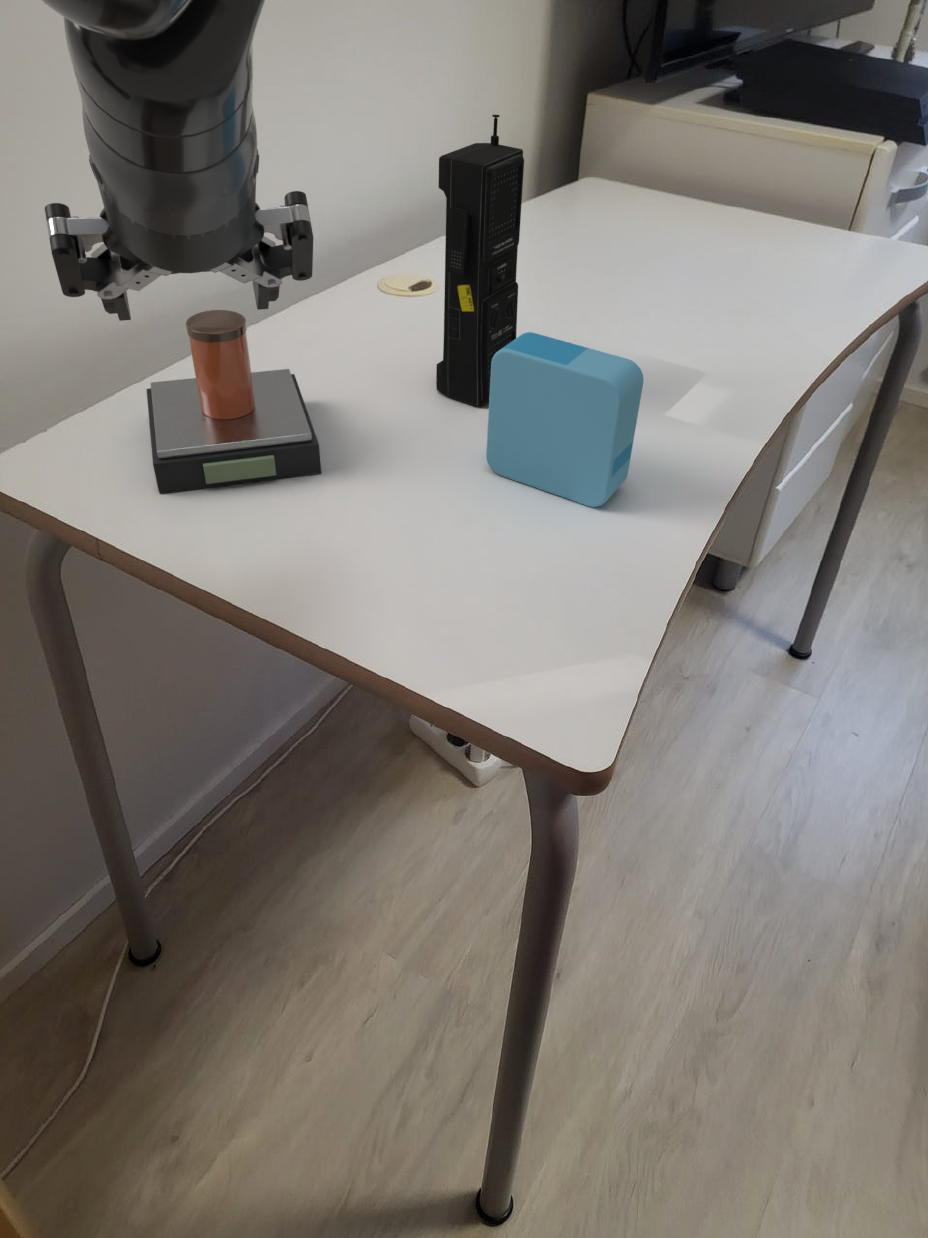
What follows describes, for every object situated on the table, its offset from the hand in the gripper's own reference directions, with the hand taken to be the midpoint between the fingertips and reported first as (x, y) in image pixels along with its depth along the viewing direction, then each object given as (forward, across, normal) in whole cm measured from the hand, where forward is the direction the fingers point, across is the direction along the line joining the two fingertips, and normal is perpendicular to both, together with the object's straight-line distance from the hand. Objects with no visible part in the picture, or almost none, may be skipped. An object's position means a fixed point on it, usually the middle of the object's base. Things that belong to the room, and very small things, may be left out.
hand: (192, 300), depth 60 cm
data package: (+18, -29, +11) cm, 36 cm away
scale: (+28, -2, +2) cm, 28 cm away
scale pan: (+25, -2, 0) cm, 26 cm away
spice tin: (+25, -2, -1) cm, 25 cm away
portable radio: (+31, -27, -2) cm, 41 cm away
